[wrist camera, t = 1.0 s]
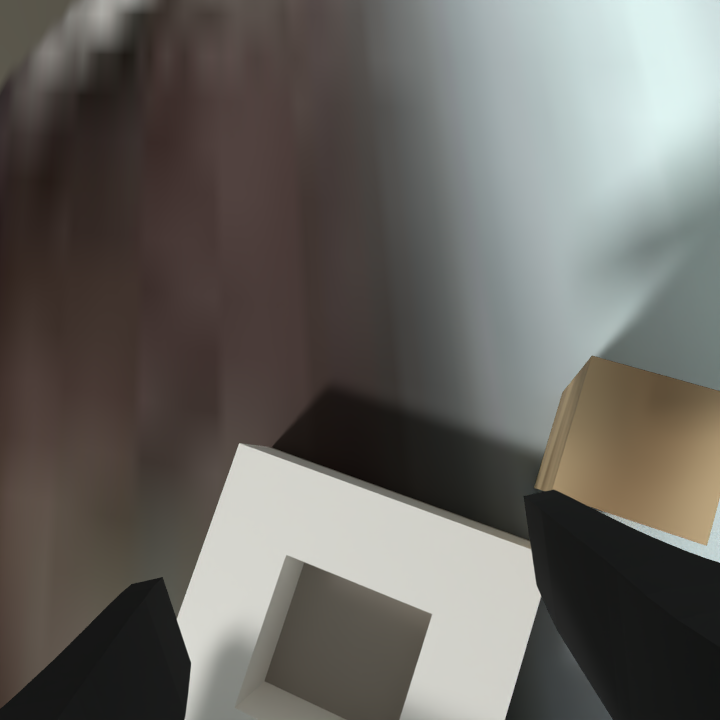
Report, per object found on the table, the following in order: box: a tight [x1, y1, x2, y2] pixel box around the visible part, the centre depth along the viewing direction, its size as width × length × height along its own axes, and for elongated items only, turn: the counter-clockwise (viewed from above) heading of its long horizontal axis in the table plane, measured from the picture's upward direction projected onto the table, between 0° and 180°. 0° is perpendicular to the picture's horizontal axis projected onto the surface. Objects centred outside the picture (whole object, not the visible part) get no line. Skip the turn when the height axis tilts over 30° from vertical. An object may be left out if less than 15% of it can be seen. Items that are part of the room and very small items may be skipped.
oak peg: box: [534, 356, 720, 546], centre depth 21 cm, size 4×4×8 cm
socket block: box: [177, 443, 541, 720], centre depth 23 cm, size 12×12×4 cm
